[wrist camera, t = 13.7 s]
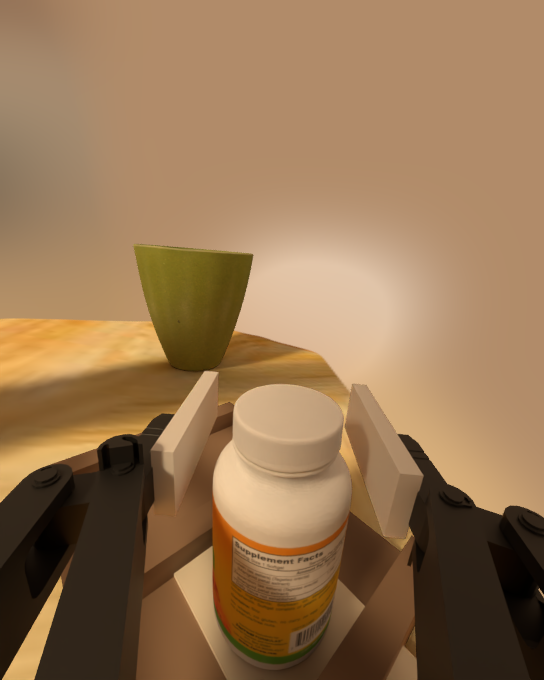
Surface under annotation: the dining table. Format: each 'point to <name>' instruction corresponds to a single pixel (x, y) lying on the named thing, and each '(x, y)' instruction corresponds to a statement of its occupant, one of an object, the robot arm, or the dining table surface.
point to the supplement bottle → (279, 524)
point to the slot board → (197, 595)
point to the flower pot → (193, 300)
